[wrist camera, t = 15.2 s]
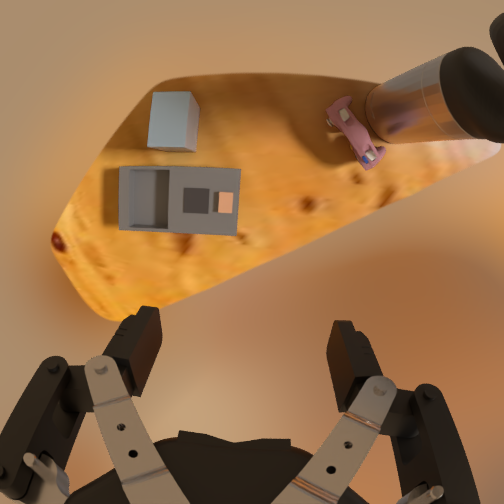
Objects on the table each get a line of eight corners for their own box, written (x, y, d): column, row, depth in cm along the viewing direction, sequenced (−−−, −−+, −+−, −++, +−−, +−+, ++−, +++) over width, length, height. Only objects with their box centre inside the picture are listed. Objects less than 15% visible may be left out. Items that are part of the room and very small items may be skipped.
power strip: (240, 169, 37) (241, 169, 33) (236, 230, 39) (236, 237, 35) (129, 166, 35) (117, 166, 32) (128, 224, 38) (117, 231, 34)
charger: (200, 108, 34) (190, 91, 26) (195, 152, 36) (184, 147, 27) (170, 107, 34) (153, 91, 26) (166, 151, 35) (147, 146, 27)
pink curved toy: (322, 109, 36) (317, 112, 31) (348, 92, 34) (348, 92, 28) (361, 166, 39) (363, 180, 33) (387, 151, 36) (394, 162, 31)
